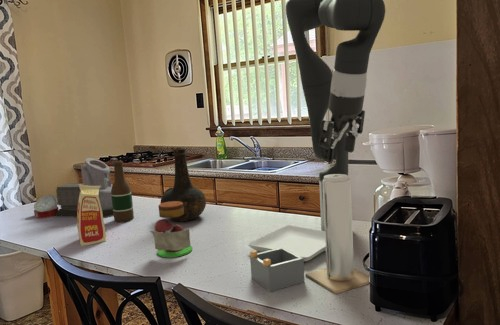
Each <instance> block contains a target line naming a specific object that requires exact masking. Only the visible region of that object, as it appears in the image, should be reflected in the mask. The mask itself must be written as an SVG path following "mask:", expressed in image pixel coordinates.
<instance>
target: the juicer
mask: <svg viewBox="0 0 500 325" xmlns="http://www.w3.org/2000/svg"><path fill="white" fill-rule="evenodd" d="M84 159H85V158H84ZM80 171H81V178H82V183H80V182H79V183H65V184H62V185H59V186H56V189H55V193H56V198H57V201H58V205H57V206H59V208H58V209H59V210H58V212H57V213H56V214H55V215H54V216H53V217H60V218H61V217H64V218H65V217H66V218H67V217H71V218H72V217H73V218H75V217H76V218H77V206H78V200H79V195H80V188H79V185H86V186H101V187H100V188H99V194H98V196H99V200H100V204H101V209H102V214H103V219H104V218H105V219H108V218H113V217H114V215H113V206H112V197H111V189H112V185H113V183H112V180H111V171H110V167H109V166H108V164H106V163H105V162H104V161H102V160H99V159H97V158H92V157H88V158H86V159H85V160H84V165H82V166H81V167H80Z"/></svg>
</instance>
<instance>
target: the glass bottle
mask: <svg viewBox="0 0 500 325" xmlns="http://www.w3.org/2000/svg"><path fill="white" fill-rule="evenodd" d="M172 150H173V153H172V154H171V155H172V156H174V182H173V187H169V188H167V189H166V190H165V191H164V193H163V195H162V197H161V199H160V204H161V203H164V202H170V201H180V202H182V203H183V210H184V214H183V215H181V216H179V217H174V218H169V219H170V220H172V221H174V222H188V221H192V220H194V219H195V220H196V219H197V218H198V217H199V216H201V214H202V213H203V212H204V210H205V209H206V205H207V199H206V195H205V194H204V193H203V191H202V190H200V189H199V188H197V187H196V186H194V185H193V183H192V181H191V178H190V174H189V169H188V162H187V156H186V155H188V152H186V148H182V147H179V148H178V147H176V148H173V149H172Z"/></svg>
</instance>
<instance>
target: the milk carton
mask: <svg viewBox="0 0 500 325" xmlns="http://www.w3.org/2000/svg"><path fill="white" fill-rule="evenodd" d="M100 187H101V186H86V185H79V188H80V195H79V200H78V206H77V217H76V227H77V234H78V238H79V243H80V246H81V247H84V246H89V245H95V244H98V243H103V242H106V241H107V233H106V232H107V231H106V228H105V222H104V221H105V220H104V218H103V214H102V209H101V204H100V200H99V196H98V194H99V188H100Z"/></svg>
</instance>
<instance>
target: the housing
mask: <svg viewBox="0 0 500 325" xmlns="http://www.w3.org/2000/svg"><path fill="white" fill-rule="evenodd" d="M249 253H250V254H249V257H250V259H249V261H250V273H251V274H250V275H251V276H250V278H251V279H252V280H254V281H255V282H256V283H258V284H259V285H260V286H262V287H263V288H264V289H265V290H267V291H268V292H270V293H271V292H274V291H277V290H281V289H285V288H288V287H293V286H294V285H298V284H299V285H300V284H302V283H304V282H305V266H304V265H305V263H304V262H305V261H304V260H303V258H302V257H300V256H298V255H296V254H295V253H293V252H291V251H289V250H287V249H285V248H283V247H282V248H278V249H273V250H269V251H265V252H258V251H257V250H254V249H253V250H250V252H249Z"/></svg>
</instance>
